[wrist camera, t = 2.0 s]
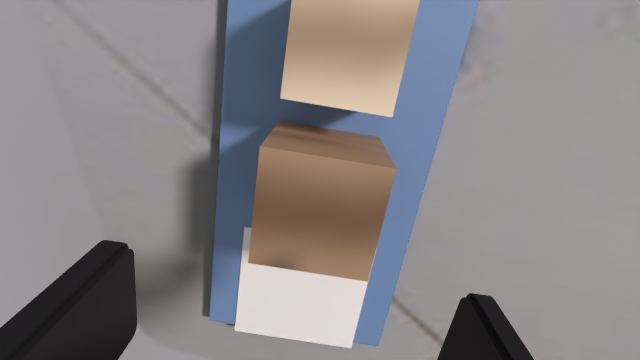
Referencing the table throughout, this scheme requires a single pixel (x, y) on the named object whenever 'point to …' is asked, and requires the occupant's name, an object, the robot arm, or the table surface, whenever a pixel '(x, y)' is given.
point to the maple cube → (348, 53)
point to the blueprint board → (268, 109)
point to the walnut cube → (320, 200)
